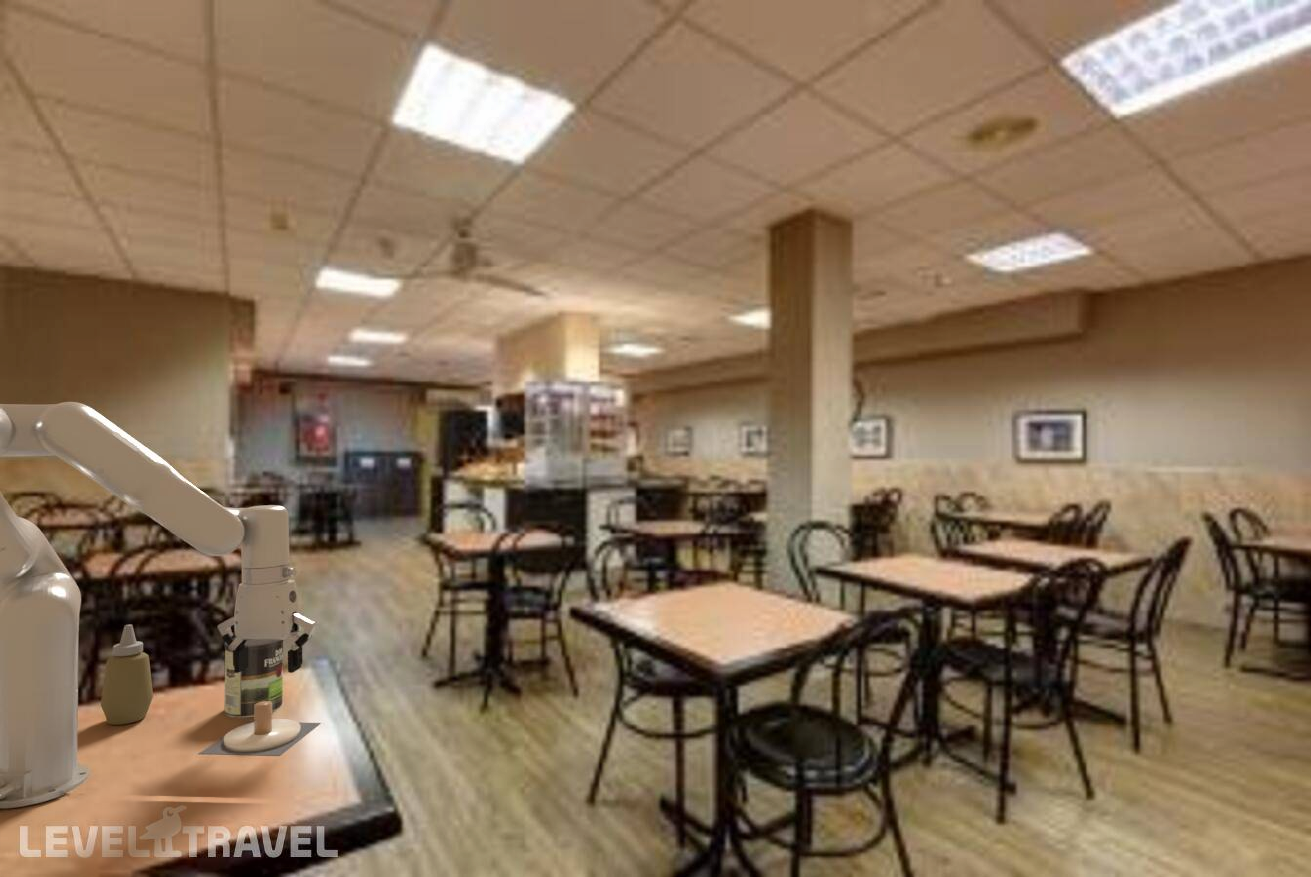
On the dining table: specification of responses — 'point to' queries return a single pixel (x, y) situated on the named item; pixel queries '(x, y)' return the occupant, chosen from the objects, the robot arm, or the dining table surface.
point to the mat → (277, 751)
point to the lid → (262, 731)
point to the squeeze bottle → (127, 681)
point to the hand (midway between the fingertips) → (268, 670)
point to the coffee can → (254, 678)
